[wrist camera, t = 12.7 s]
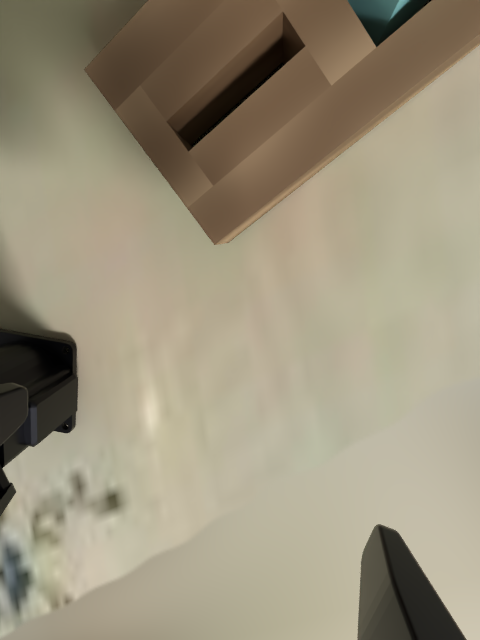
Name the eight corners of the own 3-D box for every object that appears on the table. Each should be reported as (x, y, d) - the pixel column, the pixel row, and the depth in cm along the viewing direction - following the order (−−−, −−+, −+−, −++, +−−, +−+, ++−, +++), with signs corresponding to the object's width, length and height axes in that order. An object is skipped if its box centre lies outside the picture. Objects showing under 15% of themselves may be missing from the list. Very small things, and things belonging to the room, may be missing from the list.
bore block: (125, 104, 18) (83, 69, 14) (418, -189, 14) (469, -346, 10) (228, 242, 19) (214, 244, 16) (526, 7, 15) (608, -69, 11)
